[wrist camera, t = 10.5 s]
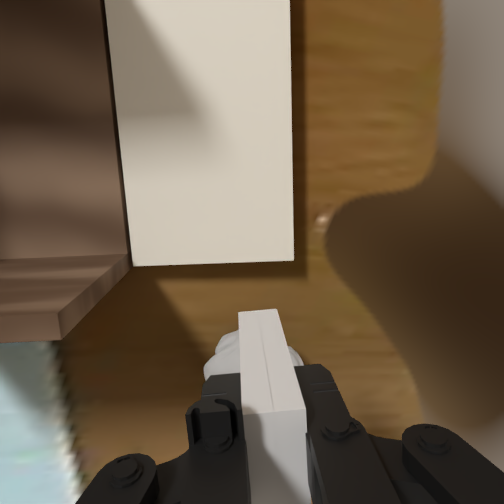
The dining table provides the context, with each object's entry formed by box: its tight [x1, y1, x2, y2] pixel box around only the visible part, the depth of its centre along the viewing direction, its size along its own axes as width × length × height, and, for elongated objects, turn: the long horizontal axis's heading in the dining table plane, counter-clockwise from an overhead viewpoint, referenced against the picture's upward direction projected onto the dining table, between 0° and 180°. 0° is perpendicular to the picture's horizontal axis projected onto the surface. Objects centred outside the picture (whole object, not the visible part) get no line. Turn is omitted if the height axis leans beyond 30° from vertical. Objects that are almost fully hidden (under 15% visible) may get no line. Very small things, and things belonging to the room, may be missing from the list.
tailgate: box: [105, 0, 294, 266], centre depth 26 cm, size 19×2×11 cm
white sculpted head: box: [203, 330, 304, 380], centre depth 28 cm, size 6×7×7 cm
